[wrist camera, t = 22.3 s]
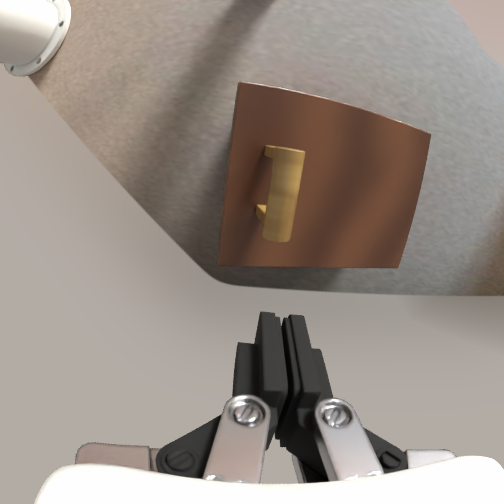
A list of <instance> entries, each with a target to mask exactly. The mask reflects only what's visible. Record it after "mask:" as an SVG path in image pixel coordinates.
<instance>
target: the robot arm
mask: <svg viewBox="0 0 504 504" xmlns="http://www.w3.org/2000/svg"><path fill="white" fill-rule="evenodd" d="M70 19H71V8H70V5H69V3H68V1H67V0H0V63H3V64H4V66H5V68H6V70H7V71H8V72H9V73H10V74H12V75H14V76H27V75H31V74H33V73H35V72H36V71H38V70H39V69H41V68H42V67H43V66H44V65H45V64H46V63H47V62H49V60H50V59H51V58H52V57H53V56H54V54H55V53H56V52H57V50H58V49H59V47H60V45H61V44H62V42H63V40H64V38H65V36H66V33H67V31H68V28H69V24H70ZM233 380H234V381H233V394H232V398H231V399H229V400H228V401H227V402H226V404H225V406H224V409H223V412H222V414H221V415H220V416H218V417H216V418H214V419H213V420H211V421H209V422H208V423H206V424H204V425H202V426H201V427H199V428H197V429H195V430H194V431H192V432H190V433H188V434H186V435H184V436H182V437H181V438H179V439H177V440H175V441H173V442H171V443H169V444H167V445H165V446H164V447H163V448H161V449H156V448H152V449H151V448H149V446H133V445H116V444H104V443H87V444H84V445H82V446H81V447H80V448H79V449H78V451H77V454H76V459H75V464H73V465H67V466H64V467H60V468H58V469H56V470H55V471H54V472H52V473H51V474H50V476H49V477H48V478H47V479H46V481H45V482H44V484H43V485H42V487H41V489H40V491H39V493H38V495H37V497H36V499H35V501H34V504H504V470H503V469H502V467H501V466H500V465H499V464H498V463H497V462H496V461H495V460H493V459H491V458H487V457H483V456H461V457H456V455H455V454H454V453H453V452H451V451H449V450H444V449H443V450H410V449H408V450H406V451H405V452H402V451H401V450H400V449H399V448H397V447H396V446H393V445H392V444H390V443H389V442H387V441H385V440H383V439H382V438H380V437H378V436H377V435H375V434H373V433H372V432H370V431H368V430H367V429H365V428H364V427H363V426H362V424H361V422H360V420H359V418H358V415H357V413H356V411H355V409H354V408H353V407H352V406H351V405H350V404H349V403H348V402H346V401H344V400H342V399H338V398H333V395H332V391H331V387H330V383H329V379H328V375H327V371H326V367H325V363H324V360H323V356H322V352H321V350H320V349H313V348H311V344H310V340H309V335H308V331H307V327H306V323H305V318H304V316H302V315H289V316H288V318H284V319H283V322H282V326H281V324H280V318H279V317H275V313H270V312H260V316H259V321H258V326H257V332H256V338H255V343H254V344H250V343H240V342H238V345H237V352H236V359H235V369H234V379H233ZM274 432H275V439H278V440H280V447H286V449H287V450H288V451H289V452H290V453H292V461H293V465H294V468H295V472H296V476H297V479H298V483H299V484H260V479H261V473H262V467H263V461H264V455H265V451H266V450H267V449H268V448H269V445H270V443H271V440H272V437H273V435H274Z"/></svg>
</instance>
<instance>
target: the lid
mask: <svg viewBox="0 0 504 504" xmlns="http://www.w3.org/2000/svg"><path fill="white" fill-rule="evenodd" d="M430 138H431V134H430V133H428V132H425V131H423V130H421V129H418V128H416V127H413V126H411V125H408V124H405V123H403V122H400V121H397V120H395V119H392V118H389V117H386V116H383V115H381V114H378V113H375V112H372V111H368V110H365V109H362V108H359V107H356V106H352V105H349V104H345V103H342V102H338V101H335V100H331V99H327V98H323V97H319V96H315V95H311V94H307V93H302V92H298V91H293V90H289V89H284V88H278V87H273V86H268V85H262V84H256V83H249V82H242V81H240V82H239V83H238V86H237V93H236V100H235V107H234V114H233V122H232V129H231V137H230V145H229V153H228V161H227V169H226V178H225V186H224V195H223V204H222V214H221V223H220V233H219V243H218V253H217V263H218V265H219V266H257V267H316V268H398V266H399V263H400V260H401V257H402V254H403V251H404V248H405V244H406V241H407V238H408V234H409V231H410V227H411V224H412V220H413V217H414V213H415V209H416V205H417V201H418V197H419V193H420V189H421V184H422V180H423V175H424V170H425V165H426V160H427V155H428V150H429V144H430Z"/></svg>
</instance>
